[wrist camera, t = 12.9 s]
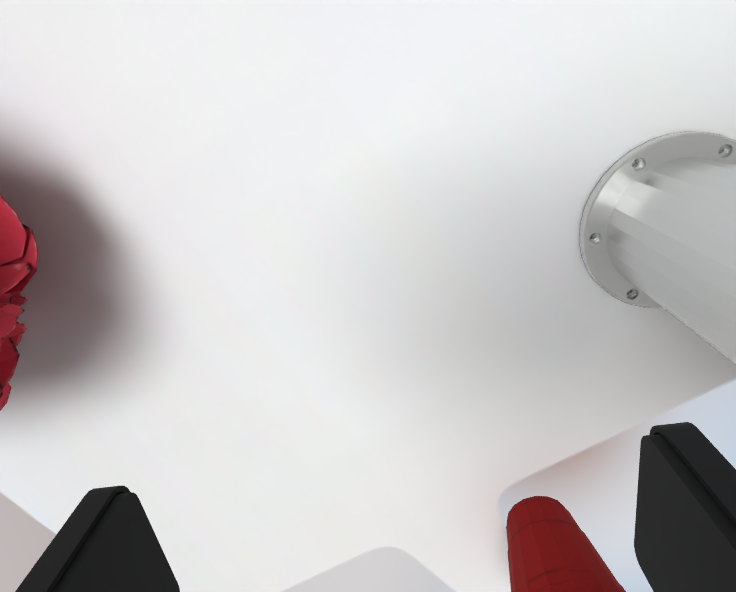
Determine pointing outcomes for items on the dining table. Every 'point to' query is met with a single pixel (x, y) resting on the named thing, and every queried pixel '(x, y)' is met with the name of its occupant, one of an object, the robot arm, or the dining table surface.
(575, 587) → the plastic cup
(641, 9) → the dining table surface
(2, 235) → the bouquet
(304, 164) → the dining table surface
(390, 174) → the dining table surface
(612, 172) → the robot arm
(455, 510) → the dining table surface
